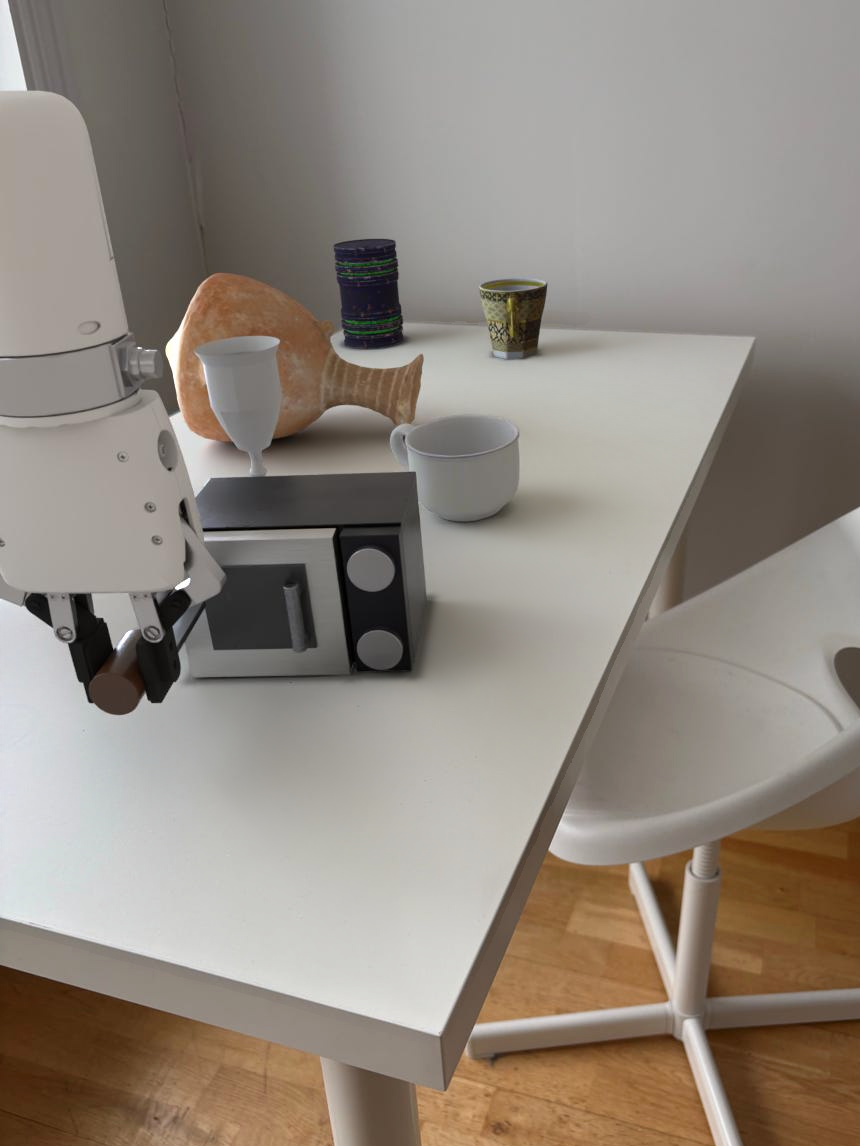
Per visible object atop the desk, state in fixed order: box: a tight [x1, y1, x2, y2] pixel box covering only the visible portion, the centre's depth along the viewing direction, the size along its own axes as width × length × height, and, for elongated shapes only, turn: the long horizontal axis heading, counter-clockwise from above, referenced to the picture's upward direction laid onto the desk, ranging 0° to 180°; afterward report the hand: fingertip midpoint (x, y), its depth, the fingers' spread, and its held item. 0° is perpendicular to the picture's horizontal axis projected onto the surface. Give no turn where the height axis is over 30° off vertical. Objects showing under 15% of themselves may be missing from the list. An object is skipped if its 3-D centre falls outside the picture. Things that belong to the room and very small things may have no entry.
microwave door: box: [183, 528, 355, 678], centre depth 70 cm, size 3×12×11 cm, turn 87°
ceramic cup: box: [478, 277, 548, 360], centre depth 148 cm, size 13×10×10 cm
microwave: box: [186, 471, 428, 673], centre depth 75 cm, size 12×16×11 cm
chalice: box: [194, 336, 282, 477], centre depth 90 cm, size 7×7×18 cm
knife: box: [89, 601, 206, 716], centre depth 62 cm, size 13×3×3 cm, turn 177°
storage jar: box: [333, 238, 405, 350], centre depth 160 cm, size 10×10×15 cm
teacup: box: [389, 413, 520, 522], centre depth 98 cm, size 14×11×8 cm
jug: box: [165, 272, 425, 443], centre depth 118 cm, size 20×19×30 cm
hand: (133, 688), depth 59 cm, fingers closed on knife, 2 cm apart
